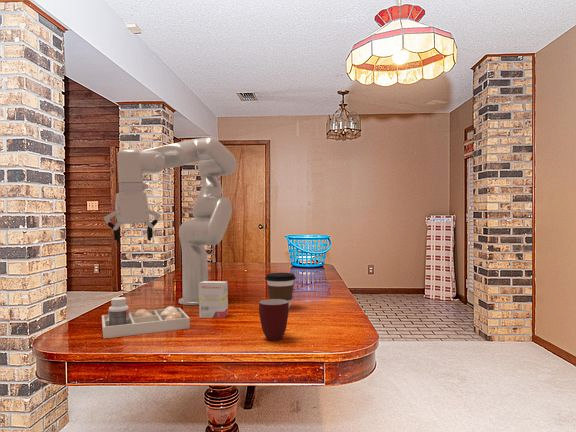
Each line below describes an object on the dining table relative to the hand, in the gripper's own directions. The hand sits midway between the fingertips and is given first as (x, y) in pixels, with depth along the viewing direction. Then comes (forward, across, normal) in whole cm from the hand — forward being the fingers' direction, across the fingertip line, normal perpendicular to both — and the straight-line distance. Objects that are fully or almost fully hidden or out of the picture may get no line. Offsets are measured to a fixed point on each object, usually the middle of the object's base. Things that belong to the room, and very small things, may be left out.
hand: (133, 241), depth 144 cm
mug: (+26, -31, +41) cm, 57 cm away
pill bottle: (+24, +7, +18) cm, 31 cm away
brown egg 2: (+25, -8, +18) cm, 32 cm away
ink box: (+26, -22, +11) cm, 36 cm away
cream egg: (+25, -8, +11) cm, 28 cm away
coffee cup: (+27, -48, +9) cm, 55 cm away
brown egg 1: (+24, 0, +10) cm, 27 cm away
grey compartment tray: (+25, 0, +14) cm, 29 cm away
